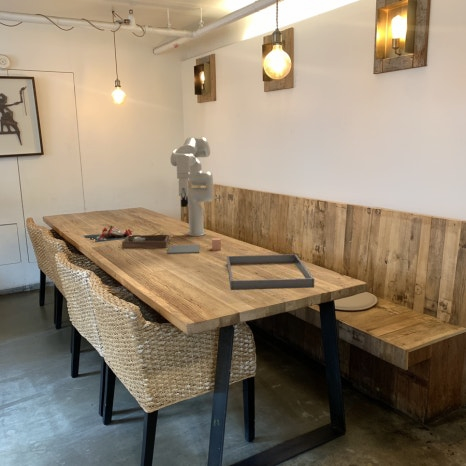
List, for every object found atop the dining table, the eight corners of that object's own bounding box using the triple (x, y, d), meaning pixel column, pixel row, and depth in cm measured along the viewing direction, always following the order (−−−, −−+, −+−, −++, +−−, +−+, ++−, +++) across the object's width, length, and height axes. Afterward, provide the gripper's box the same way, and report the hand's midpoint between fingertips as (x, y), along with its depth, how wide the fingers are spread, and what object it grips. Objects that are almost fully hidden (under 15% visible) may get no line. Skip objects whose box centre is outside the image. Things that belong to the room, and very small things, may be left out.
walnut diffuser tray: (127, 241, 295) (127, 235, 295) (169, 240, 297) (168, 234, 296) (122, 248, 277) (122, 242, 276) (166, 247, 278) (165, 241, 277)
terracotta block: (212, 248, 275) (212, 238, 274) (220, 247, 275) (220, 238, 274) (212, 250, 270) (212, 240, 269) (220, 249, 271) (220, 239, 269)
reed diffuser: (130, 234, 286) (161, 227, 295) (131, 243, 290) (161, 236, 299) (136, 243, 279) (167, 236, 288) (136, 252, 283) (167, 245, 292)
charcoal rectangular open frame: (227, 263, 240) (226, 256, 240) (296, 261, 242) (296, 254, 241) (230, 290, 198) (230, 281, 197) (314, 287, 200) (314, 278, 199)
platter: (133, 231, 332) (133, 219, 330) (143, 239, 309) (143, 226, 307) (83, 237, 318) (82, 224, 315) (89, 246, 294) (88, 232, 292)
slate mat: (170, 246, 280) (169, 245, 280) (199, 245, 281) (199, 244, 281) (167, 253, 263) (167, 252, 263) (199, 253, 264) (199, 251, 264)
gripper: (178, 174, 274) (179, 203, 277) (175, 177, 257) (176, 207, 260) (190, 174, 274) (191, 203, 277) (189, 176, 257) (190, 207, 260)
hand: (184, 205), depth 269 cm, fingers open, 9 cm apart
